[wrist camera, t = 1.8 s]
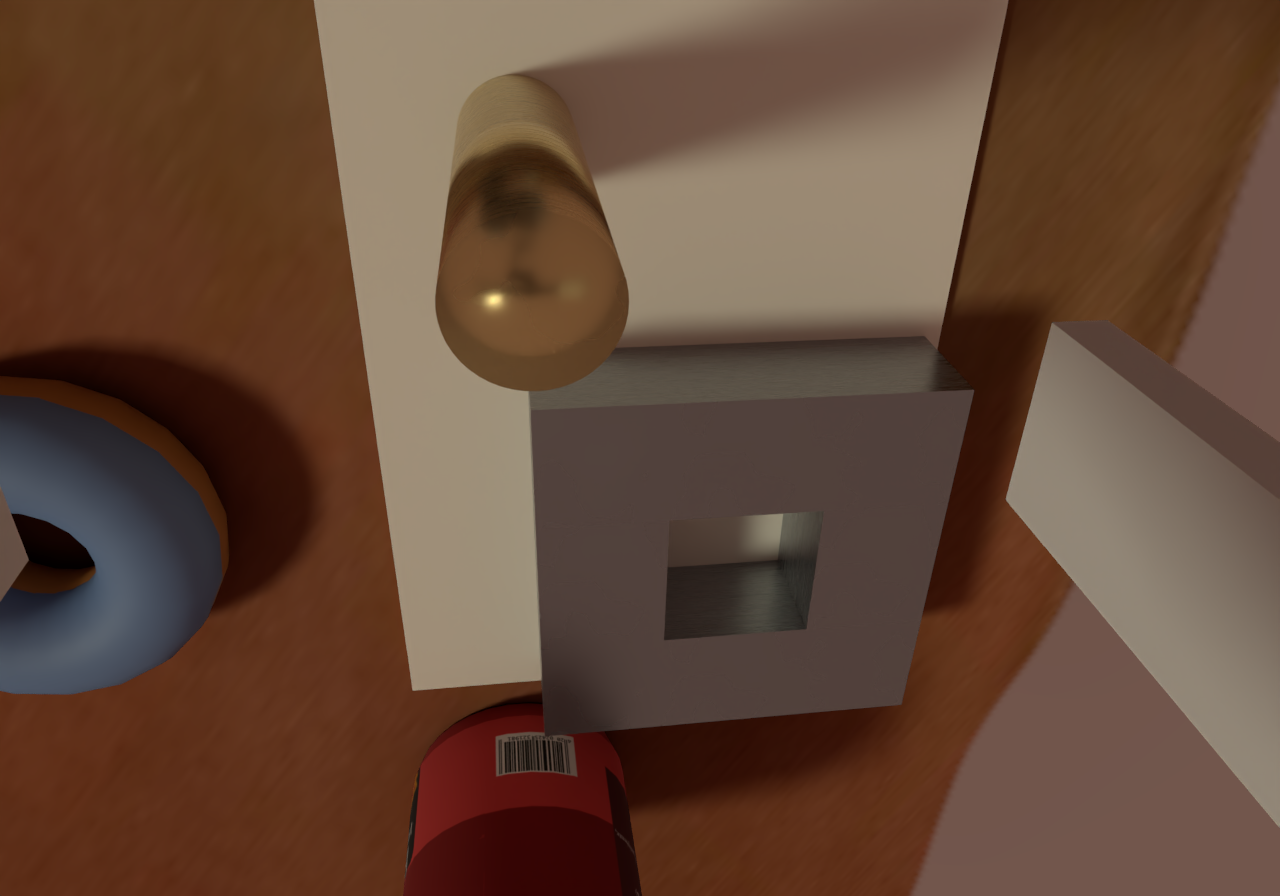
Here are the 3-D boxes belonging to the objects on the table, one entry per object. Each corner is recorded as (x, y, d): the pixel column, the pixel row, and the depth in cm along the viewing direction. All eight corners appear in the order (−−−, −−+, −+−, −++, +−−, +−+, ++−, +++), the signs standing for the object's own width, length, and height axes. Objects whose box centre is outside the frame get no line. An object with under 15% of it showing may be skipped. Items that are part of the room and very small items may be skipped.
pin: (451, 74, 23) (426, 212, 14) (574, 74, 23) (630, 209, 14) (460, 196, 25) (444, 395, 15) (576, 194, 25) (627, 387, 16)
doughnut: (-143, 605, 29) (-221, 715, 25) (-134, 308, 25) (-224, 385, 21) (209, 644, 33) (188, 745, 29) (266, 392, 29) (251, 471, 25)
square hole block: (526, 351, 27) (530, 410, 24) (924, 336, 29) (974, 389, 26) (540, 659, 33) (544, 736, 30) (866, 633, 35) (901, 704, 32)
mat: (288, -203, 20) (284, -204, 20) (1036, -177, 22) (1044, -178, 22) (413, 682, 34) (412, 690, 33) (871, 645, 36) (875, 652, 35)
